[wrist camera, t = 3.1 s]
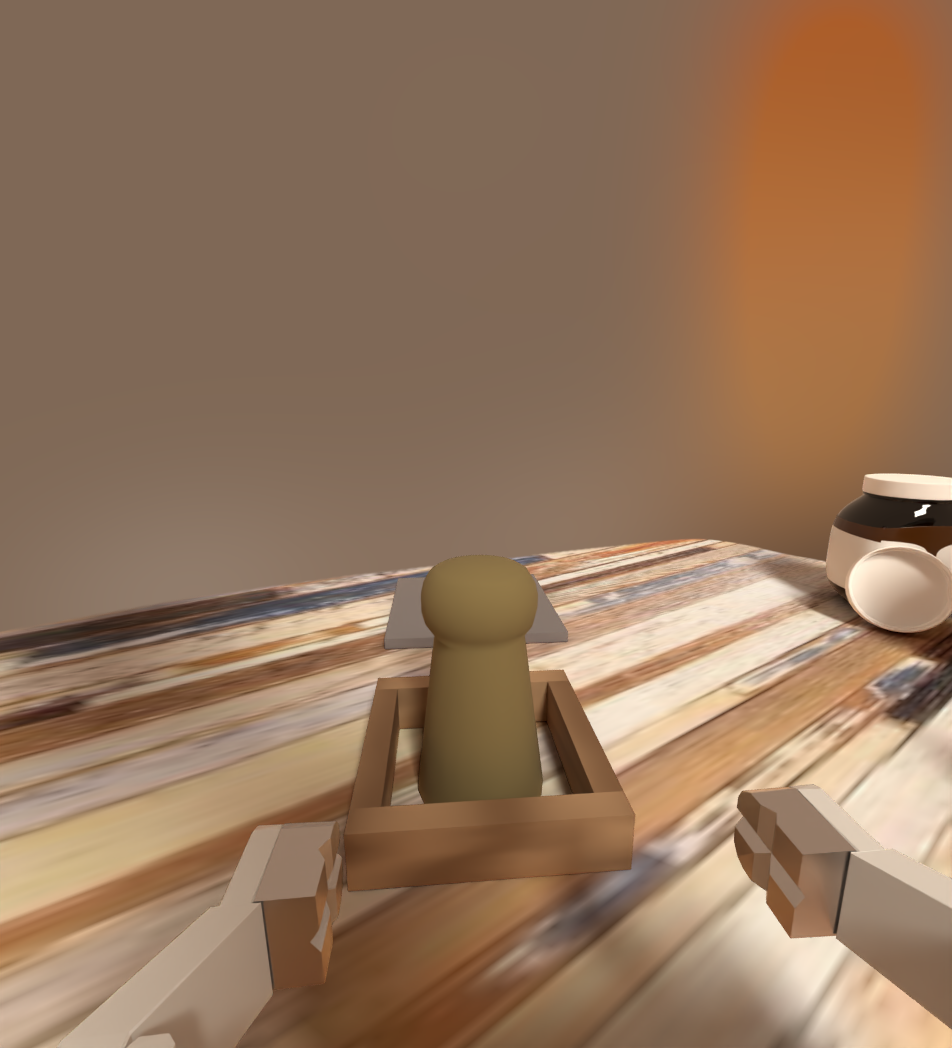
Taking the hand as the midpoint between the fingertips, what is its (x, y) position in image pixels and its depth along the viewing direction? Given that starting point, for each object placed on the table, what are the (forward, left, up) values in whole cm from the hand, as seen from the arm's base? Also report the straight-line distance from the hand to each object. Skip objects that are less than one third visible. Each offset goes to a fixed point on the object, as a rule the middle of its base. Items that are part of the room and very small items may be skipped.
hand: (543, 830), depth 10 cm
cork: (0, +12, -9) cm, 16 cm away
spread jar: (+38, +29, -9) cm, 49 cm away
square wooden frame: (0, +12, -9) cm, 15 cm away
